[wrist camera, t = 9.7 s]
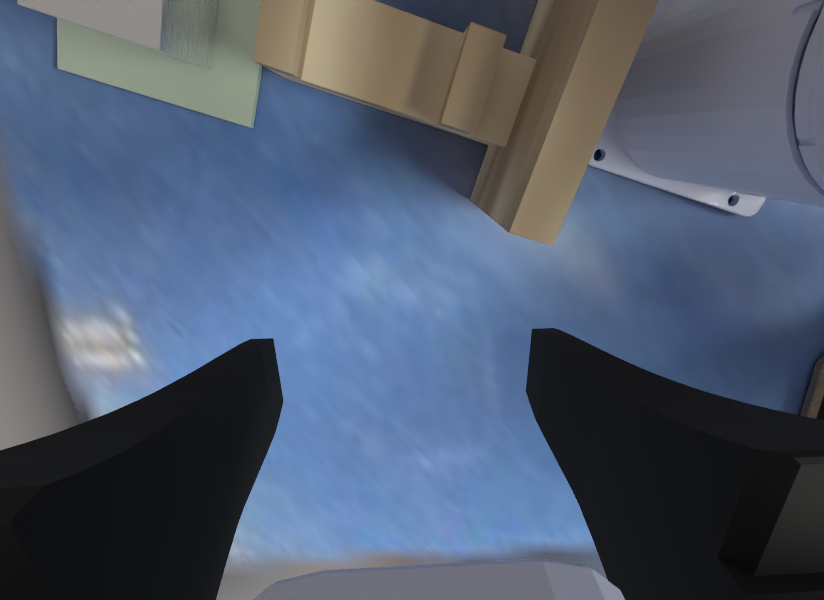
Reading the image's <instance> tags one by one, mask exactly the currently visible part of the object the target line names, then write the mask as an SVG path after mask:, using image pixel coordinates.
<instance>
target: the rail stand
mask: <svg viewBox="0 0 824 600" xmlns="http://www.w3.org/2000/svg"><path fill="white" fill-rule="evenodd" d="M658 1H659V0H538V2H537V5H536V7H535V10H534V13H533V16H532V19H531V22H530V25H529V28H528V31H527V34H526V37H525V40H524V43H523V46H522V48H521V51H520V54H519V53H516V52H514V51H511V50H508V49H506V48H503V46H504V43H505V40H506V37H507V35H505V34H503V33H500V32H497V31H495V30H492V29H489V28H487V27H484V26H481V25H479V24H476V23H473V22H471V23H470V24H469V26H468V27H467V28H466V30H465V31H464V33H462V32H459V31H456V30H454V29H451V28H448V27H446V26H443V25H440V24H437V23H435V22H432V21H429V20H426V19H424V18H421V17H418V16H416V15H413V14H410V13H407V12H405V11H402V10H399V9H396V8H394V7H391V6H388V5H386V4H383V3H380V2H377V1H375V0H262V1H261V8H260V15H259V22H258V30H257V37H256V44H255V51H254V58H253V61H254V62H256V63H258V64H260V65H262V66H264V67H265V68H267V69H269V70H271V71H273V72H275V73H277V74H278V75H280V76H282V77H284V78H286V79H288V80H291V81H294V82H297V83H300V84H303V85H306V86H309V87H312V88H315V89H318V90H321V91H324V92H327V93H331V94H334V95H337V96H340V97H343V98H346V99H349V100H352V101H355V102H358V103H361V104H364V105H367V106H370V107H373V108H376V109H379V110H382V111H385V112H389V113H392V114H395V115H398V116H401V117H404V118H407V119H410V120H413V121H416V122H419V123H422V124H425V125H428V126H431V127H434V128H437V129H440V130H443V131H447V132H450V133H453V134H456V135H459V136H462V137H465V138H468V139H471V140H474V141H477V142H480V143H483V144H486V145H488V148H487V151H486V154H485V157H484V160H483V163H482V166H481V168H480V171H479V174H478V177H477V180H476V183H475V186H474V189H473V192H472V195H471V198H470V201H471V202H473V203H474V204H475V205H476V206H477V207H479V208H480V209H481V210H482V211H483V212H485V213H486V214H487V215H488V216H489V217H491V218H492V219H493V220H494V221H495V222H497V223H498V224H499V225H500V226H501V227H503V228H504V229H505V230H506V231H507V232H509V233H511V234H515V235H518V236H521V237H525V238H528V239H531V240H535V241H538V242H542V243H545V244H548V245H552V246H553V245H554V243H555V241H556V239H557V236H558V234H559V232H560V229H561V227H562V225H563V222H564V220H565V218H566V215H567V213H568V211H569V208H570V206H571V204H572V201H573V199H574V197H575V194H576V192H577V190H578V187H579V185H580V183H581V180H582V178H583V176H584V173H585V171H586V169H587V166H588V164H589V162H590V159H591V157H592V155H593V153H594V150H595V148H596V146H597V143H598V141H599V139H600V136H601V134H602V132H603V129H604V127H605V125H606V122H607V120H608V118H609V115H610V113H611V111H612V108H613V106H614V104H615V101H616V99H617V97H618V94H619V92H620V90H621V87H622V85H623V83H624V80H625V78H626V76H627V73H628V71H629V69H630V67H631V64H632V62H633V60H634V57H635V55H636V53H637V50H638V48H639V46H640V43H641V41H642V39H643V36H644V34H645V32H646V29H647V27H648V25H649V22H650V20H651V18H652V15H653V13H654V11H655V8H656V6H657V4H658Z"/></svg>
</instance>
